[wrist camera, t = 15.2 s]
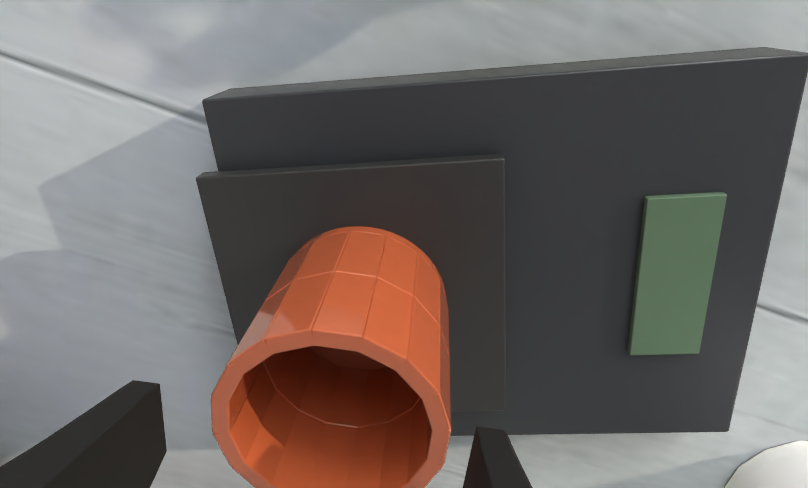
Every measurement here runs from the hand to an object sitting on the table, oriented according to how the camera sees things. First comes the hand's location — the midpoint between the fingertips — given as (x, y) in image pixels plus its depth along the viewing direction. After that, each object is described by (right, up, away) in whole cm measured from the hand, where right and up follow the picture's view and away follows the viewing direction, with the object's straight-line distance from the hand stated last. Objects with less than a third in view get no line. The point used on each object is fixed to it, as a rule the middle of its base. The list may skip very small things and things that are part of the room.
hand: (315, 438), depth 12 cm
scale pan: (+1, +3, +7) cm, 7 cm away
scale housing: (+5, +4, +9) cm, 11 cm away
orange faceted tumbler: (+1, +2, +6) cm, 7 cm away
